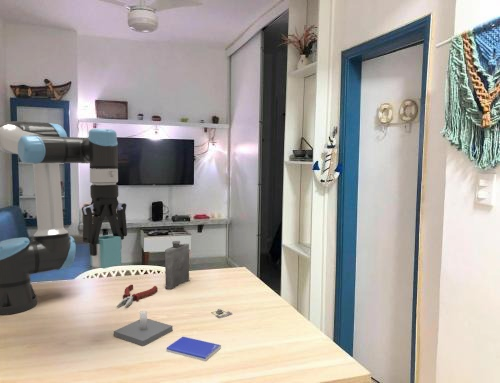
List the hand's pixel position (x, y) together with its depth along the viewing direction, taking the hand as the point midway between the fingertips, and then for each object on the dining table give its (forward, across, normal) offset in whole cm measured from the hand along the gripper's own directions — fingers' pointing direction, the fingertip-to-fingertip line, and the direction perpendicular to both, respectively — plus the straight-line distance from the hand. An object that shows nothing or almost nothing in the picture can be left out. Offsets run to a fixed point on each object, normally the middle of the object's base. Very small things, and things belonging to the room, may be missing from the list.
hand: (106, 263), depth 117 cm
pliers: (+22, +26, +21) cm, 40 cm away
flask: (+21, +48, +17) cm, 55 cm away
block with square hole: (0, 0, 0) cm, 0 cm away
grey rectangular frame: (+22, +34, -20) cm, 45 cm away
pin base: (+22, +7, -7) cm, 24 cm away
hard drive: (+23, +8, -26) cm, 35 cm away
